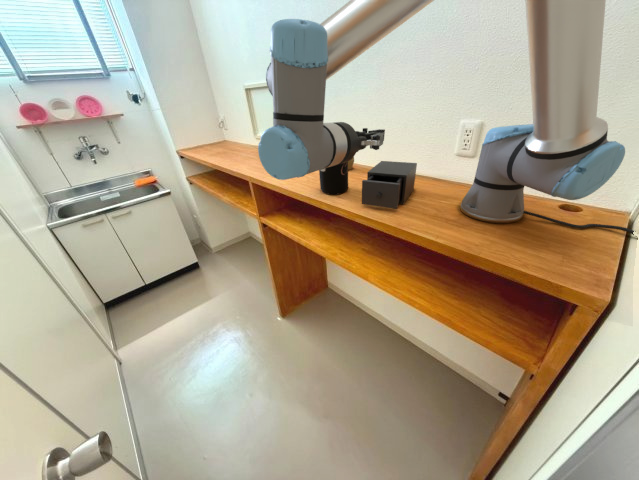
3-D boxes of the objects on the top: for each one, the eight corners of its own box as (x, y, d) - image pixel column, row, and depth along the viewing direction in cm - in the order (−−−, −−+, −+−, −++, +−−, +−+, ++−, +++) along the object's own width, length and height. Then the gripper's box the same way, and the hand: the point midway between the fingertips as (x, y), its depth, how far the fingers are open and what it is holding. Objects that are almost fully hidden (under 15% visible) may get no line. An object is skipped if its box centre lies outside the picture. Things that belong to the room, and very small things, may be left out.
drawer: (395, 210, 76) (398, 185, 72) (360, 205, 81) (360, 181, 77) (407, 193, 87) (410, 171, 83) (375, 190, 92) (376, 168, 88)
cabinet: (403, 204, 82) (406, 175, 77) (366, 199, 87) (367, 172, 82) (413, 189, 92) (417, 163, 87) (380, 185, 98) (381, 160, 93)
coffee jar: (346, 195, 92) (345, 143, 82) (318, 195, 94) (314, 144, 84) (349, 185, 100) (349, 137, 91) (323, 185, 103) (320, 138, 93)
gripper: (304, 162, 52) (357, 149, 69) (361, 169, 45) (404, 152, 62) (303, 122, 48) (359, 118, 66) (364, 123, 42) (409, 119, 59)
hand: (381, 135), depth 64 cm, fingers closed
